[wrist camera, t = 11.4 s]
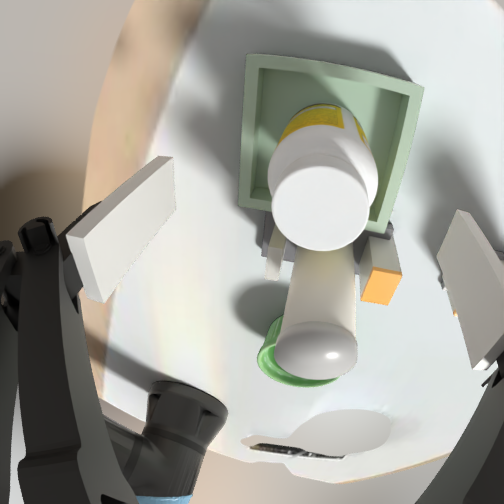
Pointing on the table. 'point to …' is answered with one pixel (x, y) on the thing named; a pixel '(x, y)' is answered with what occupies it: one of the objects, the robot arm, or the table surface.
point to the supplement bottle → (322, 178)
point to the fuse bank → (330, 297)
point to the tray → (325, 91)
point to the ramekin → (273, 369)
